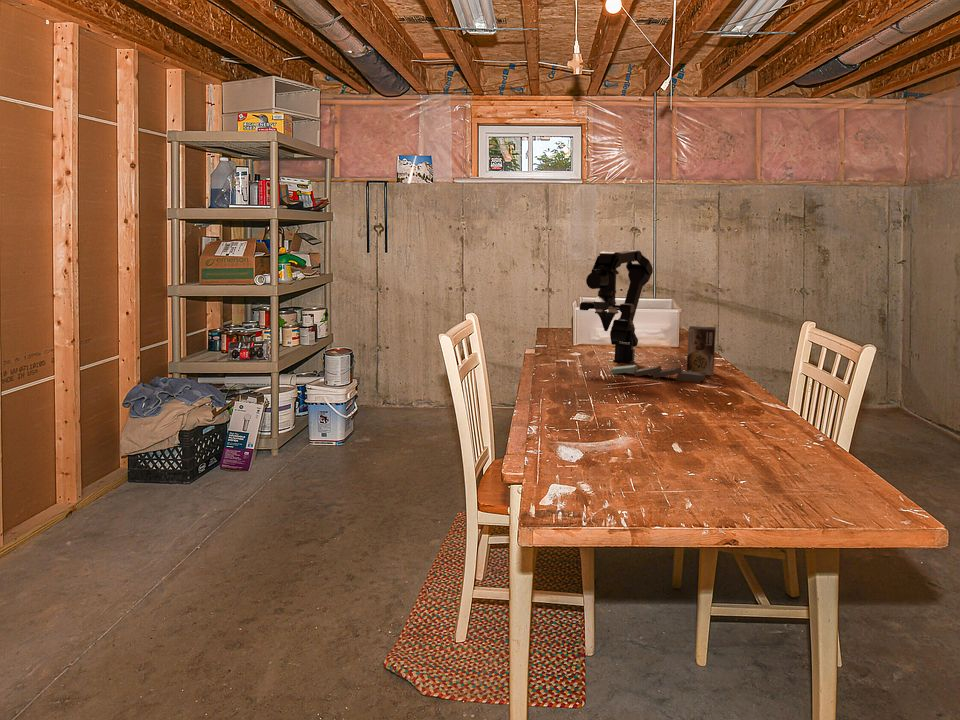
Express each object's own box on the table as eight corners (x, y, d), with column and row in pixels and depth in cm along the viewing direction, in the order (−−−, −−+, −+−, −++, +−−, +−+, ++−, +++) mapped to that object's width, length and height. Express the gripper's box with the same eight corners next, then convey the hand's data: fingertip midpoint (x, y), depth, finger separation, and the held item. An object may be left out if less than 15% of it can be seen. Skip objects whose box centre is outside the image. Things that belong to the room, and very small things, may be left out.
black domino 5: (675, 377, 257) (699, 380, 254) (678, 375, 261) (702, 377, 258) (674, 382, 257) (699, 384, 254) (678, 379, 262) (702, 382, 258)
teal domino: (610, 369, 267) (633, 367, 263) (614, 367, 271) (636, 364, 268) (611, 374, 267) (634, 371, 264) (614, 371, 271) (637, 369, 268)
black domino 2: (634, 372, 263) (656, 367, 259) (638, 369, 267) (660, 365, 263) (635, 376, 263) (657, 372, 259) (639, 374, 267) (661, 370, 264)
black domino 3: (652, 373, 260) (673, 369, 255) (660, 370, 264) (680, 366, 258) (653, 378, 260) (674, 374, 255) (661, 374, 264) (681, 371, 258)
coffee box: (713, 372, 271) (716, 326, 268) (713, 376, 265) (716, 329, 262) (687, 370, 274) (689, 325, 271) (685, 374, 268) (688, 327, 265)
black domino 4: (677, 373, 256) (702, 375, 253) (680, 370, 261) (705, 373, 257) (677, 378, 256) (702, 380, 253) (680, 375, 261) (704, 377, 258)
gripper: (575, 287, 272) (573, 331, 275) (626, 290, 264) (625, 335, 267) (585, 285, 282) (583, 328, 285) (635, 288, 274) (633, 331, 277)
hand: (605, 331), depth 278 cm, fingers closed
